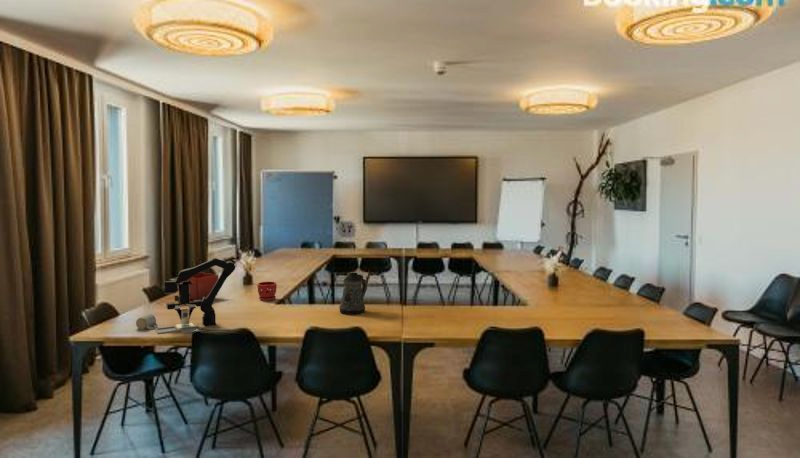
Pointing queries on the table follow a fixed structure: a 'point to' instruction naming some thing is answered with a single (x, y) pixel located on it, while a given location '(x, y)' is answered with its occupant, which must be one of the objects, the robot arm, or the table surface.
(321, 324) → the table surface
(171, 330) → the tray
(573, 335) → the table surface
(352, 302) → the beer stein
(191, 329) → the tray
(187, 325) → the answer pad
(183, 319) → the tan rectangular block
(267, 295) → the plant pot
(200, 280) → the plant pot
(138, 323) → the ceramic mug
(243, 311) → the table surface
